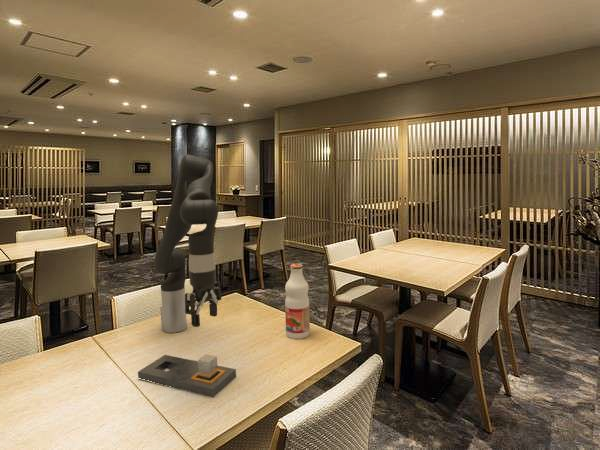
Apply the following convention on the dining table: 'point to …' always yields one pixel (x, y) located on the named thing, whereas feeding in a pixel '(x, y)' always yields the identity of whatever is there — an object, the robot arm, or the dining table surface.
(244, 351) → the dining table surface
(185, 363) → the grey board with holes
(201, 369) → the grey square peg
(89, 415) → the dining table surface
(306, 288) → the fruit juice
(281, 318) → the dining table surface
